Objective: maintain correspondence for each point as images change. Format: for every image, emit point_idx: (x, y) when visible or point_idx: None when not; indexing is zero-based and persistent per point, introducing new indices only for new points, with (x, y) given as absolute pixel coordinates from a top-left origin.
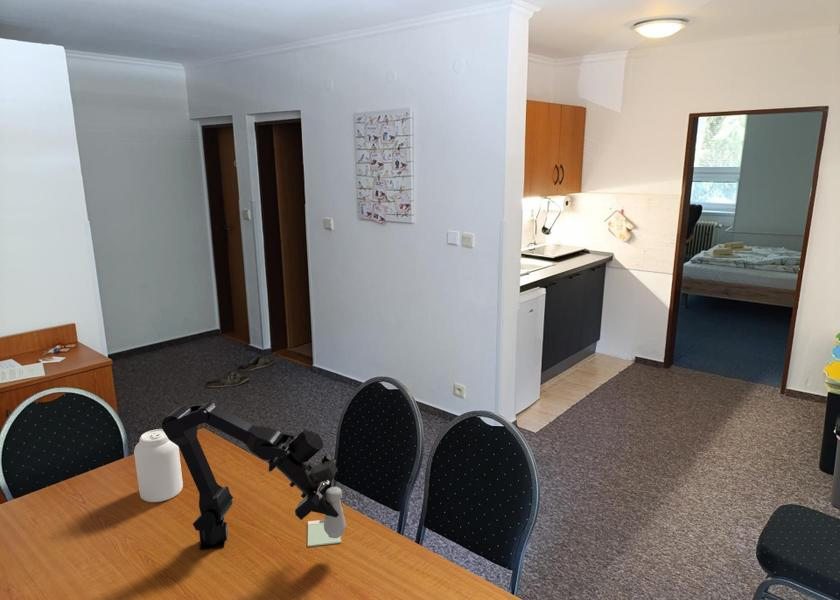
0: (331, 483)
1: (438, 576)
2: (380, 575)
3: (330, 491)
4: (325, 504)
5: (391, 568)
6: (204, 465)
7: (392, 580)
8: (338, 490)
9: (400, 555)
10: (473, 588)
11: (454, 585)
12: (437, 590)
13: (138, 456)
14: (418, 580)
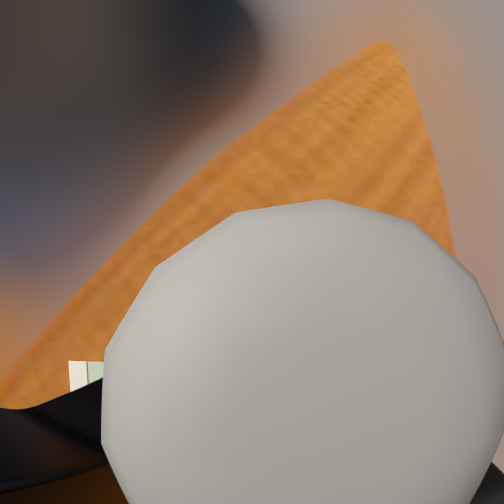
0: (2, 471)
1: (368, 86)
2: (387, 209)
3: (424, 501)
4: (497, 474)
5: (354, 178)
6: None
7: (402, 178)
8: (364, 258)
9: (294, 152)
10: (388, 50)
11: (388, 70)
12: (410, 96)
13: None
14: (390, 122)
